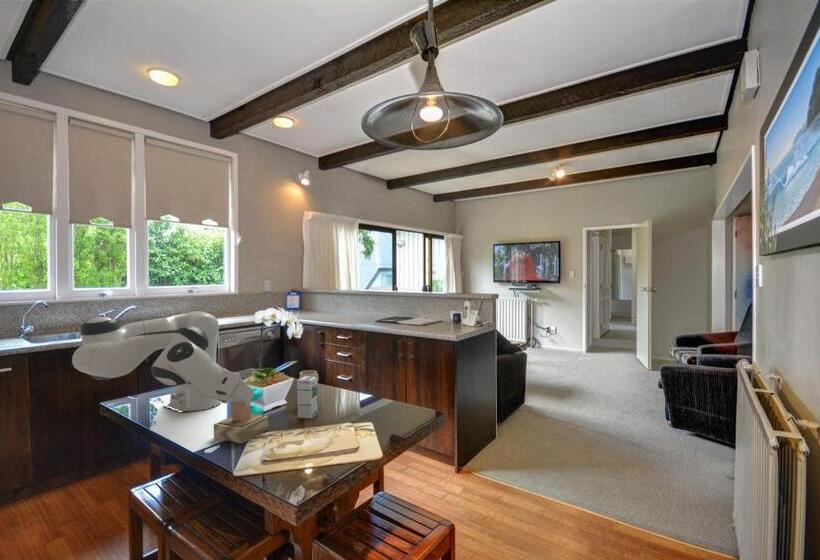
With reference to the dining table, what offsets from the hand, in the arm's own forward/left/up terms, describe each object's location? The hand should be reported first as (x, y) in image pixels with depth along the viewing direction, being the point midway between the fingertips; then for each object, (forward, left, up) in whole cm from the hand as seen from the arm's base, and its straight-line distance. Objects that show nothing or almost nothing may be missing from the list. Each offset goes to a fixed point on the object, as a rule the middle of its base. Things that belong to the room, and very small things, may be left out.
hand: (236, 402), depth 127 cm
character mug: (+2, +37, -11) cm, 39 cm away
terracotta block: (0, +2, -6) cm, 7 cm away
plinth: (0, +2, -11) cm, 12 cm away
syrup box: (+11, +24, -11) cm, 29 cm away
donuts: (-10, +16, -12) cm, 23 cm away
